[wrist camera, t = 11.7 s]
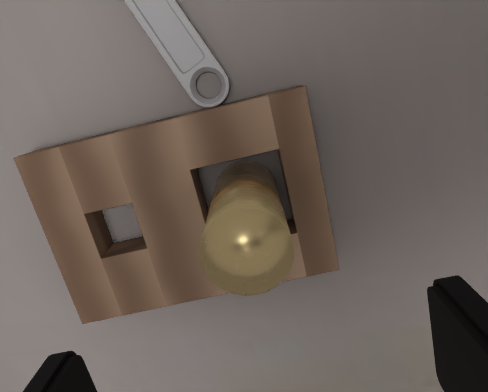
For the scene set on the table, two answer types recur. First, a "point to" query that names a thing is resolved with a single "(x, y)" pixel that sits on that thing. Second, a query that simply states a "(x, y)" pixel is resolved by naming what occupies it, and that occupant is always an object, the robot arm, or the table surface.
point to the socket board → (170, 201)
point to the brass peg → (246, 232)
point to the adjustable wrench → (179, 45)
